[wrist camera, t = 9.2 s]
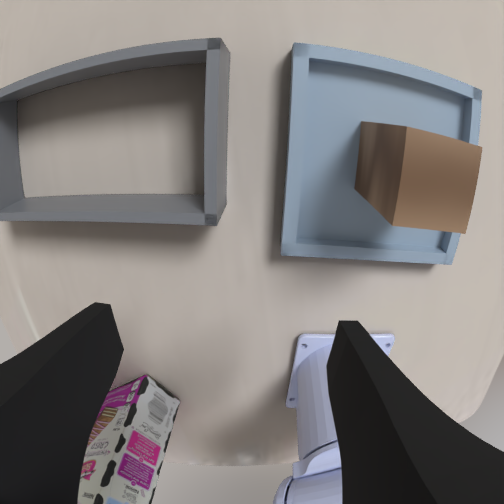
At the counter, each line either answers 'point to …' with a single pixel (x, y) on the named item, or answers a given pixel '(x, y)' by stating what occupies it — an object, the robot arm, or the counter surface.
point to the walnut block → (417, 176)
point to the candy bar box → (128, 444)
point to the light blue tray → (347, 147)
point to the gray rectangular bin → (124, 205)
